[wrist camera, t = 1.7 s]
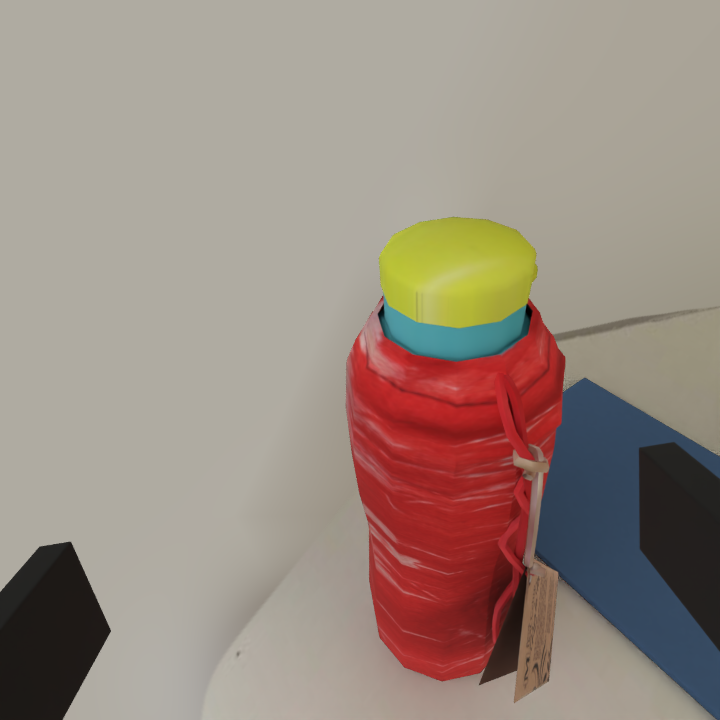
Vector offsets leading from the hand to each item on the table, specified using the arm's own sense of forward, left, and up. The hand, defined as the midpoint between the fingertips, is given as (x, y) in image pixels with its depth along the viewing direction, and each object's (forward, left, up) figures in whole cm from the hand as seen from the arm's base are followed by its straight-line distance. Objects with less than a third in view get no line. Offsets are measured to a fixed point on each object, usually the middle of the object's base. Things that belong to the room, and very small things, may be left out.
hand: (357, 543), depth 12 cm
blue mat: (0, +22, -21) cm, 31 cm away
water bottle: (-2, +6, -21) cm, 22 cm away
